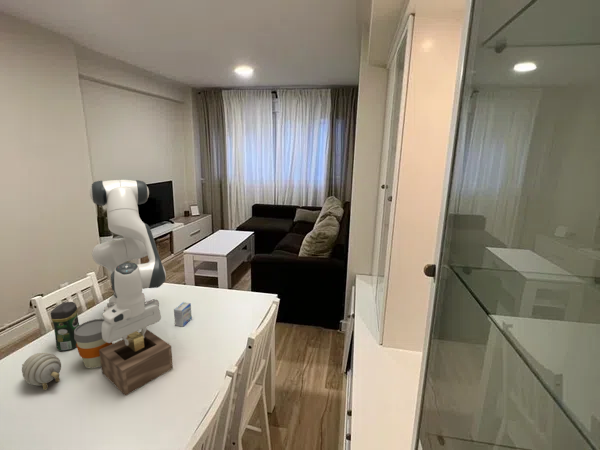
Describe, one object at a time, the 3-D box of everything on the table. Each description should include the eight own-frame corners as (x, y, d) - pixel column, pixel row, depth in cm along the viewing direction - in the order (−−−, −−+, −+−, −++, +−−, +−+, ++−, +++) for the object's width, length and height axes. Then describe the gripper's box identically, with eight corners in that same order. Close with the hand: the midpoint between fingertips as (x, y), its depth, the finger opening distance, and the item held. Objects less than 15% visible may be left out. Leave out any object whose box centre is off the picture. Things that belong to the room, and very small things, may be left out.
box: (102, 373, 122) (99, 349, 119) (148, 350, 136) (146, 328, 133) (125, 395, 111) (122, 370, 109) (172, 368, 125) (171, 345, 123)
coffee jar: (65, 339, 142) (58, 300, 137) (85, 337, 143) (79, 299, 139) (53, 352, 132) (45, 311, 128) (74, 351, 134) (67, 310, 129)
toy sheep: (44, 368, 123) (39, 342, 121) (77, 378, 119) (72, 352, 116) (13, 387, 114) (6, 359, 111) (47, 399, 109) (42, 371, 106)
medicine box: (183, 327, 153) (182, 310, 151) (174, 325, 154) (173, 309, 152) (191, 318, 161) (191, 302, 159) (183, 317, 162) (182, 301, 159)
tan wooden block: (127, 345, 121) (125, 333, 120) (136, 341, 124) (135, 329, 123) (135, 351, 118) (133, 339, 116) (144, 347, 120) (143, 335, 119)
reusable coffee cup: (76, 375, 120) (70, 339, 117) (80, 355, 131) (75, 322, 127) (115, 365, 126) (110, 331, 122) (116, 347, 137) (112, 315, 133)
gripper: (153, 295, 127) (156, 326, 130) (97, 315, 111) (102, 351, 114) (162, 299, 123) (165, 332, 127) (105, 322, 107) (110, 358, 111)
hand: (135, 341), depth 120 cm, fingers closed on tan wooden block, 3 cm apart
